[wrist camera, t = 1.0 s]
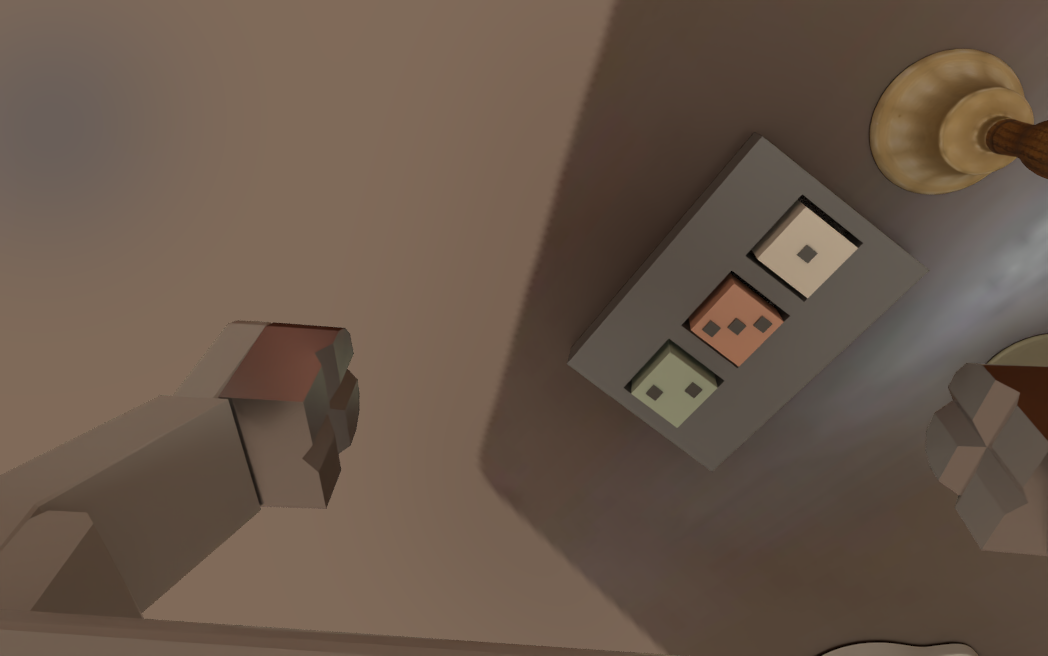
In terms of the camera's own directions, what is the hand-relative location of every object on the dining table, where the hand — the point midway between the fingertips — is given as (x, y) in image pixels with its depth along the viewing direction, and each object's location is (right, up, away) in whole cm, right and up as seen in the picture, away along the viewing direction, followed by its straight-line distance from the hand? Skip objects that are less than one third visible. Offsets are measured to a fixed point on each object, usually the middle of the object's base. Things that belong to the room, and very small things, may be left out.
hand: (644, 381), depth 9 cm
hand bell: (+23, +13, +30) cm, 40 cm away
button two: (+9, -3, +37) cm, 38 cm away
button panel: (+13, +2, +36) cm, 38 cm away
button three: (+12, +2, +35) cm, 37 cm away
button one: (+16, +6, +32) cm, 36 cm away
